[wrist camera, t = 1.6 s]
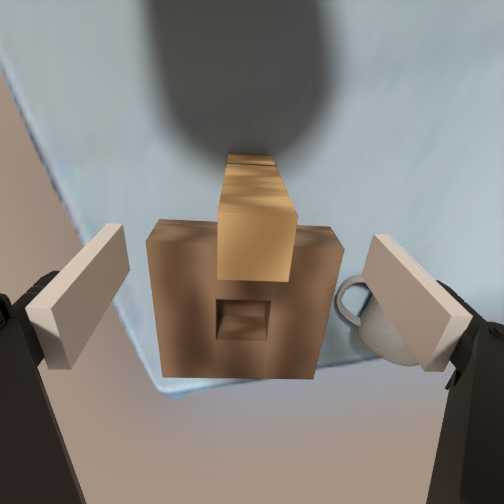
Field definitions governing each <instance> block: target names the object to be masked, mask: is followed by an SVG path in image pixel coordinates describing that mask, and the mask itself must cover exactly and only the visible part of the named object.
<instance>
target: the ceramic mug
mask: <svg viewBox="0 0 504 504" xmlns="http://www.w3.org/2000/svg"><path fill="white" fill-rule="evenodd" d="M361 276H362V275H361ZM361 276H360V275H358V276H353V277H350V278H348V279H347V280H345V281H344V282H343V283H342V284H341V286H340V288H339V290H338V293H337V297H336V303H337V307H338V309H339V310H340V312H341V313H342V315H343V316H344V317H346V318H347V319H348V320H349V321H351V322H352V323H354V324H356V325H357V333H358V336H359V338H360V339H361V341H362V342H363V343H364V344H365V345H366V346H367V347H368V348H369V349H370V350H371V351H372V352H374V353H375V354H377V355H378V356H380V357H382V358H384V359H386V360H388V361H390V362H392V363H395V364H398V365H403V366H416V365H419V362H418V361H417V359H416V358H415V356H414V355H413V353H412V352H411V350H410V349H409V347H408V346H407V344H406V343H405V341H404V340H403V338H402V337H401V335H400V334H399V332H398V331H397V329H396V328H395V326H394V325H393V323H392V322H391V320H390V319H389V317H388V316H387V314H386V313H385V311H384V310H383V308H382V307H381V305H380V304H379V302H378V301H377V299H376V298H375V296H374V295H372V297H371V299H370V301H369V303H368V304H367V306H366V308H365V310H364V311H363V313H362V315H361V317H357V316H356V315H354V314H352V313H351V312H350V311H348V310H347V309H346V308H345V307H344V305H343V304H342V302H341V299H342V296H343V294H344V292H345V290H347V289H348V288H350V287H351V285H353V284H354V283H365V281H364V280H363V278H362V277H361Z"/></svg>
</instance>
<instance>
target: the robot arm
mask: <svg viewBox="0 0 504 504" xmlns="http://www.w3.org/2000/svg"><path fill="white" fill-rule="evenodd" d="M129 271H130V267H129V261H128V254H127V248H126V242H125V235H124V229H123V224H106V225H105V226H104V227H103V228H102V229H101V230H100V231H99V232H98V233H97V234H96V236H95V237H94V238H93V239H92V240H91V241H90V242H89V243H88V244H87V245H86V246H85V247H84V248H83V249H82V250H81V251H80V252H79V253H78V254H77V255H76V256H75V257H74V258H73V259H72V260H71V261H70V262H69V263H68V264H67V265H66V267H64V268H63V269H62V270H61V271H52V272H50V273H49V274H47V275H45V276H43V277H41V278H40V279H39V280H38V281H37V282H36V283H35V284H34V285H33V287H31V288H30V289H29V290H28V291H27V292H26V294H23V295H22V296H21V297H20V298H19V299H18V300H17V301H16V302H15V303H14V304H13V305H11V302H10V300H9V298H8V297H7V296H6V295H5V294H1V293H0V504H86V501H85V498H84V496H83V493H82V490H81V487H80V484H79V482H78V479H77V476H76V473H75V470H74V468H73V465H72V462H71V459H70V457H69V454H68V451H67V448H66V445H65V443H64V440H63V437H62V435H61V432H60V429H59V426H58V423H57V421H56V418H55V415H54V412H53V409H52V407H51V404H50V401H49V398H48V395H47V393H46V390H45V387H44V384H43V382H42V379H41V376H40V373H39V371H38V369H37V367H38V365H39V364H40V363H41V361H42V360H43V358H44V359H45V361H46V364H47V367H48V369H72V367H73V365H74V364H75V362H76V360H77V358H78V357H79V355H80V353H81V352H82V350H83V348H84V347H85V345H86V343H87V342H88V340H89V338H90V337H91V335H92V333H93V332H94V330H95V328H96V327H97V325H98V323H99V321H100V320H101V318H102V316H103V315H104V313H105V311H106V310H107V308H108V306H109V305H110V303H111V301H112V300H113V298H114V296H115V295H116V293H117V291H118V290H119V288H120V286H121V285H122V283H123V281H124V279H125V278H126V276H127V274H128V273H129ZM361 277H362V278H363V280H364V281H365V283H366V284H367V286H368V287H369V289H370V290H371V292H372V293H373V295H374V296H375V298H376V299H377V301H378V302H379V304H380V305H381V307H382V308H383V310H384V311H385V313H386V314H387V316H388V317H389V319H390V320H391V322H392V323H393V325H394V326H395V328H396V329H397V331H398V332H399V334H400V335H401V337H402V338H403V340H404V341H405V343H406V344H407V346H408V347H409V349H410V350H411V352H412V353H413V355H414V356H415V358H416V359H417V361H418V362H419V364H420V365H421V367H422V368H423V370H424V371H440V372H443V371H444V369H445V368H446V366H447V364H448V362H449V360H450V361H451V362H452V364H453V365H454V366H455V367H456V369H455V371H454V373H453V375H452V377H451V378H450V380H449V382H448V384H447V386H446V387H445V389H447V390H448V389H449V388H450V389H449V394H448V398H447V403H446V408H445V413H444V418H443V423H442V428H441V433H440V438H439V443H438V448H437V453H436V458H435V463H434V468H433V473H432V477H431V483H430V487H429V492H428V497H427V502H426V504H504V325H502V324H499V323H495V322H487V321H486V320H484V319H483V318H482V317H481V316H480V315H479V314H478V313H477V312H476V311H475V310H474V309H473V308H471V307H470V306H469V305H468V304H467V303H466V302H464V300H463V299H462V298H461V297H460V296H458V295H457V294H456V293H455V292H454V291H453V290H452V289H451V288H450V287H448V286H447V285H445V284H443V283H442V282H440V281H438V280H434V279H433V278H432V277H431V276H430V275H429V274H428V273H427V272H426V271H425V270H424V269H423V268H422V267H421V266H420V265H419V264H418V263H417V262H416V261H415V260H414V259H413V258H412V257H410V256H409V255H408V254H407V253H406V252H405V251H404V250H403V249H402V248H401V247H400V246H399V245H398V244H397V243H396V242H395V241H394V240H393V239H392V238H391V237H390V236H389V235H388V234H373V237H372V240H371V244H370V248H369V251H368V255H367V258H366V262H365V265H364V269H363V272H362V276H361Z"/></svg>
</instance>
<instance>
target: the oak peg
mask: <svg viewBox="0 0 504 504" xmlns="http://www.w3.org/2000/svg"><path fill="white" fill-rule="evenodd" d="M297 219H298V215H297V213H296V210H295V208H294V206H293V204H292V201H291V199H290V197H289V195H288V192H287V190H286V188H285V186H284V183H283V181H282V179H281V176H280V174H279V172H278V170H277V167H276V165H275V163H274V161H273V158H272V156H270V155H252V154H235V153H229V154H228V160H227V163H226V170H225V176H224V181H223V186H222V192H221V197H220V203H219V208H218V245H217V280H246V281H276V282H288V281H289V274H290V267H291V260H292V253H293V247H294V240H295V233H296V226H297Z"/></svg>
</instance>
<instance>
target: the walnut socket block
mask: <svg viewBox="0 0 504 504" xmlns="http://www.w3.org/2000/svg"><path fill="white" fill-rule="evenodd" d="M217 245H218V222H208V221H185V220H162V219H159V220H158V222H157V224H156V225H155V227H154V229H153V230H152V232H151V233H150V235H149V237H148V238H147V240H146V248H147V256H148V264H149V272H150V280H151V288H152V296H153V304H154V312H155V320H156V328H157V336H158V344H159V352H160V360H161V368H162V376H163V377H174V378H248V379H313V378H314V374H315V369H316V365H317V361H318V357H319V353H320V349H321V345H322V340H323V336H324V332H325V328H326V324H327V320H328V316H329V311H330V307H331V303H332V299H333V295H334V291H335V287H336V282H337V278H338V274H339V270H340V266H341V262H342V258H343V253H344V248H343V246H342V244H341V243H340V241H339V240H338V238H337V237H336V235H335V233H334V232H333V230H332V229H331V227H322V226H299V225H297V226H296V233H295V240H294V247H293V253H292V260H291V267H290V274H289V281H288V282H276V281H246V280H217Z"/></svg>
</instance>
